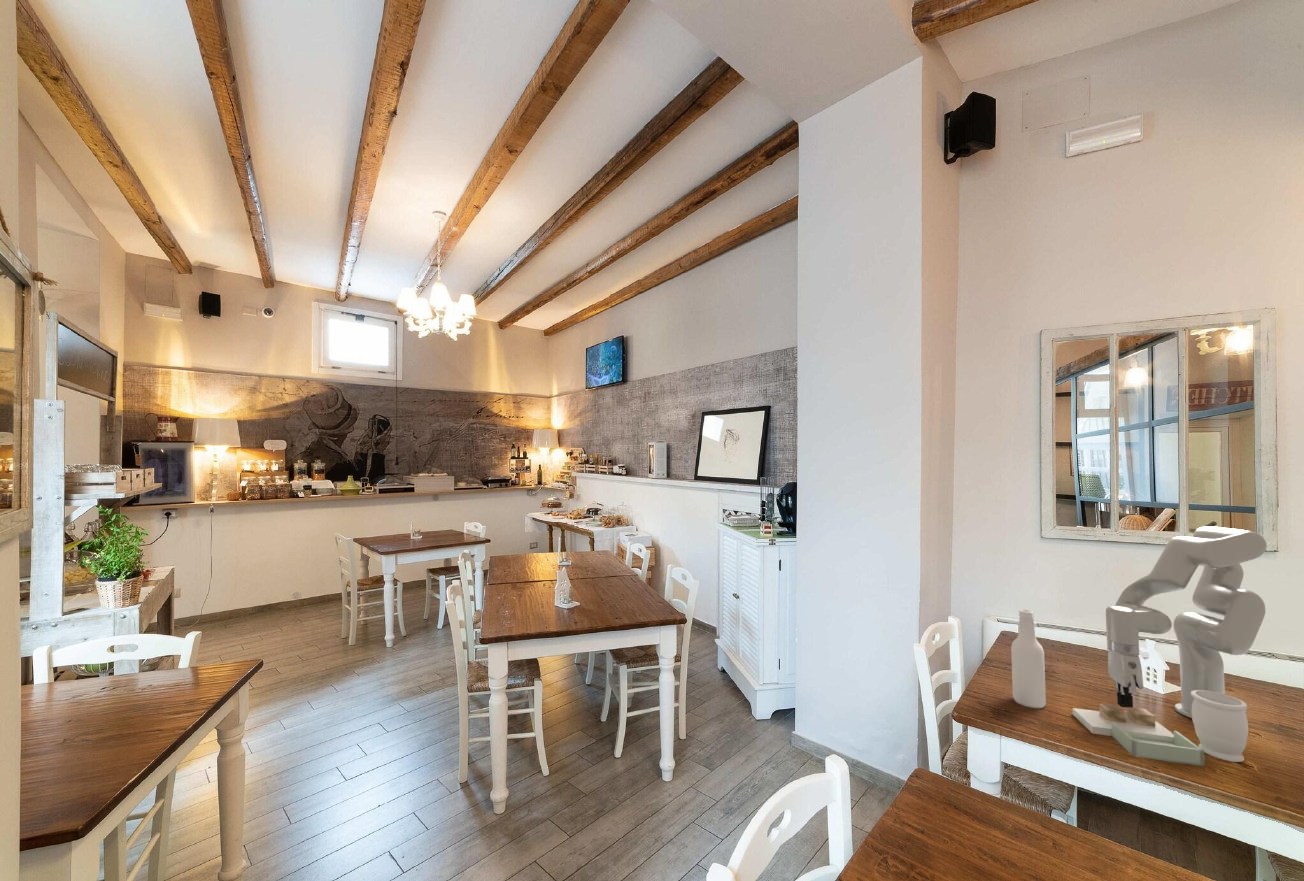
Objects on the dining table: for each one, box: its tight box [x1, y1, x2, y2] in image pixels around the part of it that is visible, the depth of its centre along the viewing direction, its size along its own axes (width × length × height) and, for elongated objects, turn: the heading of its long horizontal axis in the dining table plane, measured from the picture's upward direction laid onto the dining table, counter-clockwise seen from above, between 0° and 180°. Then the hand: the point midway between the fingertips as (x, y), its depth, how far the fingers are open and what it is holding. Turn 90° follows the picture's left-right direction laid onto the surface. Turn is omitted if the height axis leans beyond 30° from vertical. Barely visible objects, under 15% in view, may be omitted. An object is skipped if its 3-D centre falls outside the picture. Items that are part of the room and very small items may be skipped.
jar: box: [1191, 690, 1249, 763], centre depth 139 cm, size 11×10×15 cm
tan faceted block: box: [1126, 707, 1156, 727], centre depth 152 cm, size 4×4×3 cm
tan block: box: [1098, 703, 1127, 723], centre depth 155 cm, size 4×4×3 cm
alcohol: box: [1010, 609, 1047, 709], centre depth 169 cm, size 9×9×30 cm
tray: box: [1111, 723, 1206, 767], centre depth 140 cm, size 15×10×4 cm
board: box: [1072, 707, 1174, 743], centre depth 152 cm, size 20×12×2 cm, turn 72°
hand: (1125, 706), depth 160 cm, fingers closed
